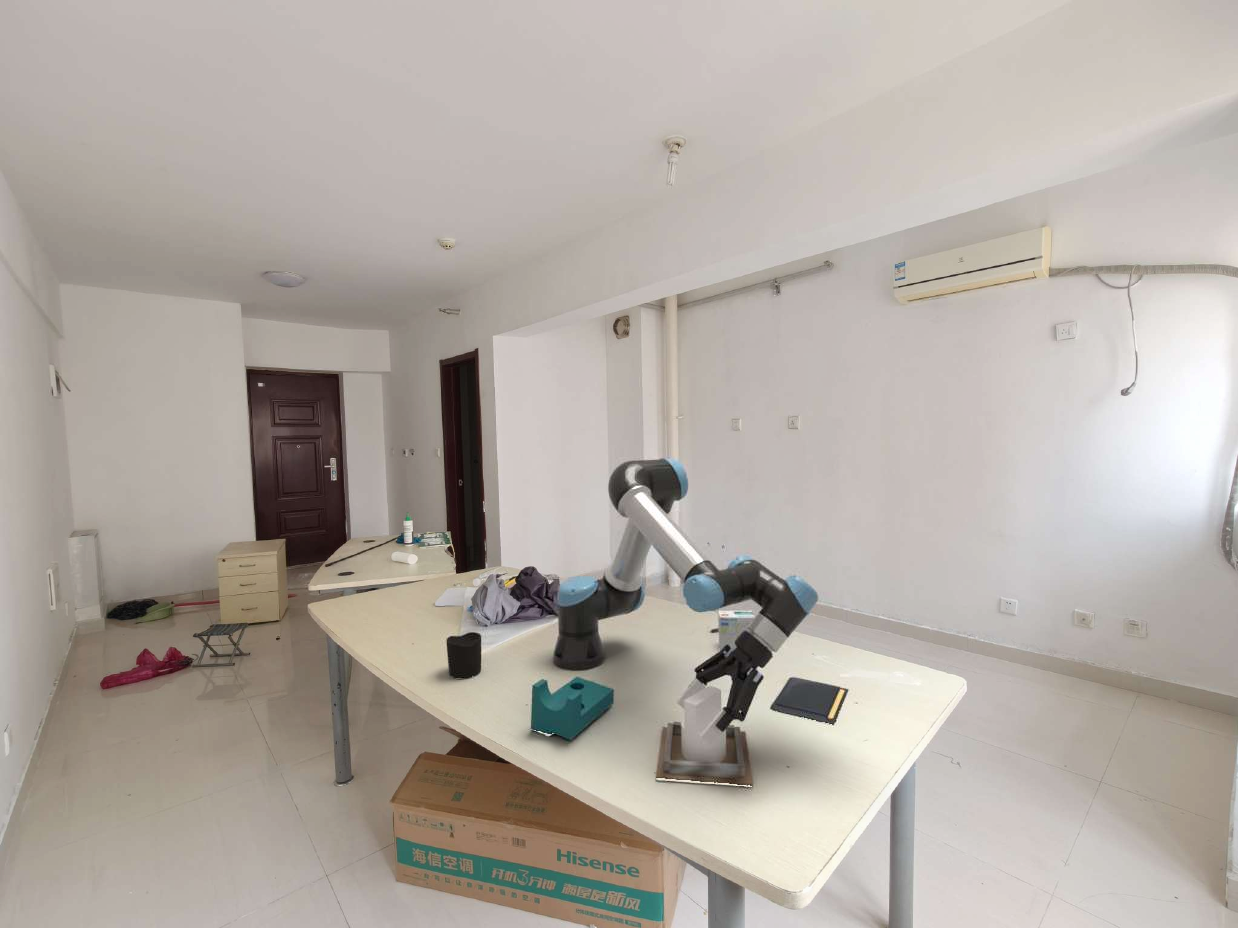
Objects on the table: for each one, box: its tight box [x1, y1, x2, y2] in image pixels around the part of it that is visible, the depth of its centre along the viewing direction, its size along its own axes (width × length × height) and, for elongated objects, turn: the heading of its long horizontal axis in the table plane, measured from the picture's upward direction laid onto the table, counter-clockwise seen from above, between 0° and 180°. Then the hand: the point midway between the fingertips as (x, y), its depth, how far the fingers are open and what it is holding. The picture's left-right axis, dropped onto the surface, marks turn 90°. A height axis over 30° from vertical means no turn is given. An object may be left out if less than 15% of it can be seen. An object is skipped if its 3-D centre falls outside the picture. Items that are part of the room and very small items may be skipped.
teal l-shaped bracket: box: [530, 676, 615, 741], centre depth 129 cm, size 18×11×10 cm, turn 150°
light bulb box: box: [717, 609, 755, 651], centre depth 169 cm, size 11×7×11 cm, turn 84°
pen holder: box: [445, 631, 482, 679], centre depth 155 cm, size 9×9×10 cm
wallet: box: [769, 676, 849, 726], centre depth 136 cm, size 20×2×15 cm
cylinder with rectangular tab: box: [680, 685, 726, 763], centre depth 113 cm, size 9×9×12 cm
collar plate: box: [655, 721, 754, 787], centre depth 113 cm, size 18×18×3 cm
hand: (692, 722), depth 112 cm, fingers open, 13 cm apart
